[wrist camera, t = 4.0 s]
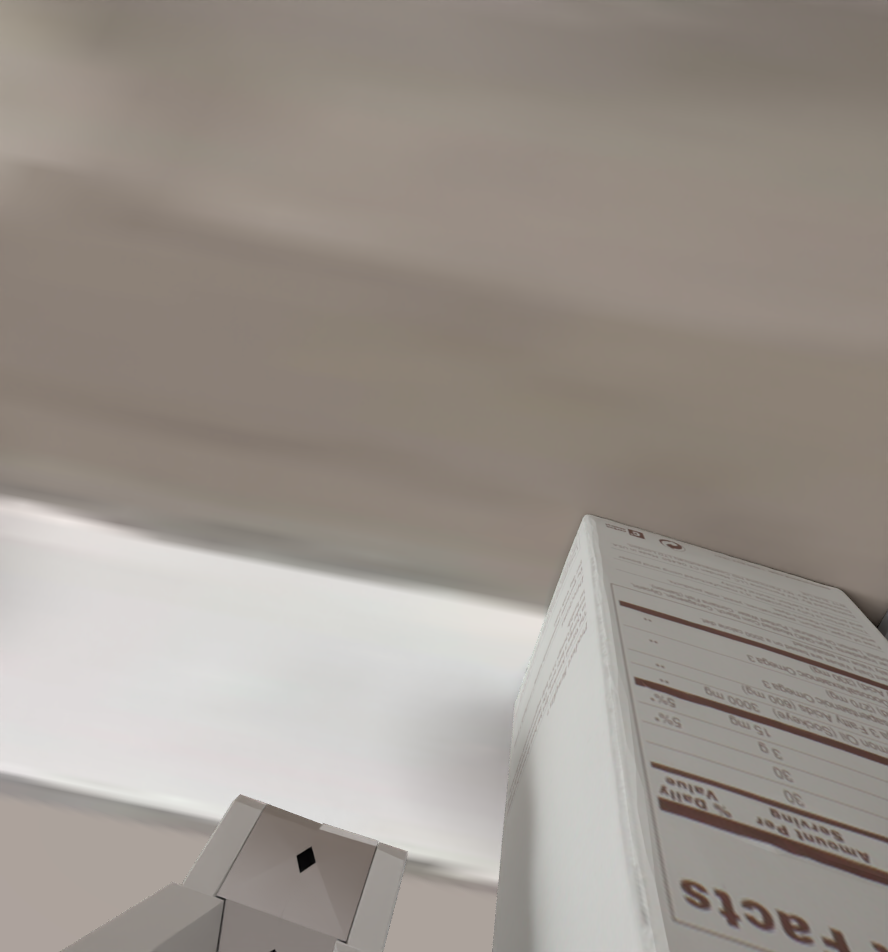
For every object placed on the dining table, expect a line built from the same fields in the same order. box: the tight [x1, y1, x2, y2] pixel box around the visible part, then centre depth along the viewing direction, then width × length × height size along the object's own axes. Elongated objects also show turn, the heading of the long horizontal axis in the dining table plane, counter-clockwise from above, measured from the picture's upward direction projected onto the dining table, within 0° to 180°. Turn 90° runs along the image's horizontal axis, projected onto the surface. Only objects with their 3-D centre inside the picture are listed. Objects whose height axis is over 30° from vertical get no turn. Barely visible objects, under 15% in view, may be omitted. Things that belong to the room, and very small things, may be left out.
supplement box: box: [492, 515, 888, 952], centre depth 12 cm, size 7×7×13 cm
